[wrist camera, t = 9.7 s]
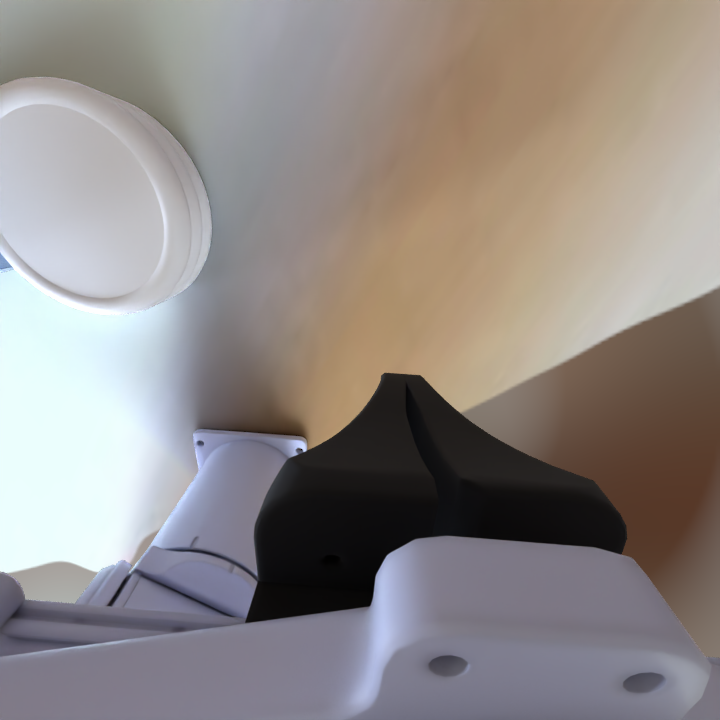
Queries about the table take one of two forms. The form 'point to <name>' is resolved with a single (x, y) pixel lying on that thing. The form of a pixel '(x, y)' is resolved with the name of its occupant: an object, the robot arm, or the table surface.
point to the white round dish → (97, 198)
